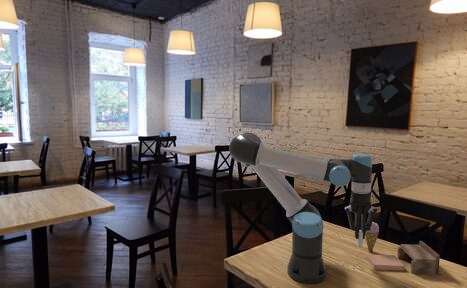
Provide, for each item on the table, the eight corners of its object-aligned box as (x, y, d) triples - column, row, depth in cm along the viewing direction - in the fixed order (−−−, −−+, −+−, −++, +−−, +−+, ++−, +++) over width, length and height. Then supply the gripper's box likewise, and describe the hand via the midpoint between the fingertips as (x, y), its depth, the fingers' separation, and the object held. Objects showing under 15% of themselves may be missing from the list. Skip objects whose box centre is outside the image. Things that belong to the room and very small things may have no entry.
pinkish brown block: (373, 270, 126) (374, 264, 125) (366, 259, 134) (366, 254, 134) (404, 271, 125) (404, 265, 124) (394, 260, 133) (394, 255, 133)
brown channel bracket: (412, 273, 122) (413, 254, 121) (397, 257, 135) (398, 240, 134) (438, 274, 121) (439, 255, 120) (421, 258, 134) (422, 241, 134)
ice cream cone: (359, 251, 142) (361, 219, 140) (364, 246, 146) (366, 216, 144) (374, 255, 137) (376, 223, 135) (379, 251, 142) (381, 219, 140)
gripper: (347, 193, 124) (346, 249, 126) (380, 194, 123) (378, 250, 125) (342, 189, 131) (341, 241, 134) (374, 189, 130) (372, 242, 133)
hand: (359, 245), depth 129 cm, fingers closed
